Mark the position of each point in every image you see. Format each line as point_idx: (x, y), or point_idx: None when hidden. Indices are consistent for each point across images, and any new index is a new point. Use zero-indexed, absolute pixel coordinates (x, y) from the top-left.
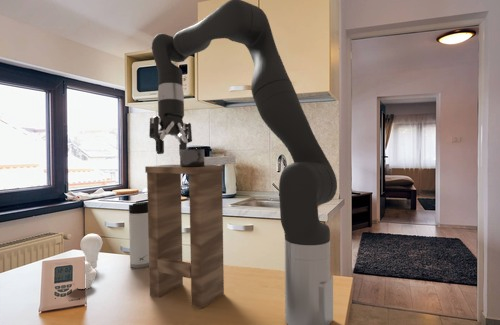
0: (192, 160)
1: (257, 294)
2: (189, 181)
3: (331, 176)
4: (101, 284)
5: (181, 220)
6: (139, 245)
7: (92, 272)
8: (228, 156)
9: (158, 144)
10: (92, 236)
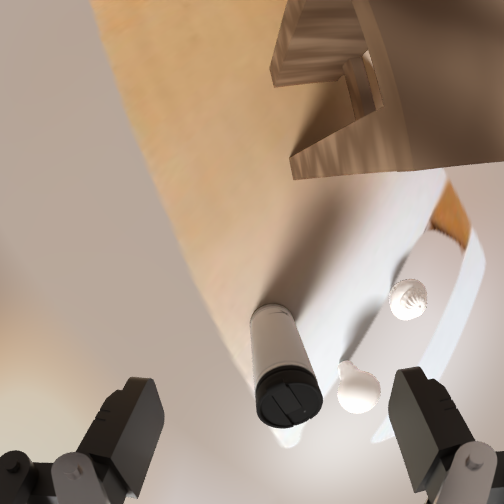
0: None
1: (232, 28)
2: None
3: None
4: (376, 284)
5: (321, 140)
6: (292, 327)
7: (406, 285)
8: None
9: (460, 422)
10: (369, 392)
